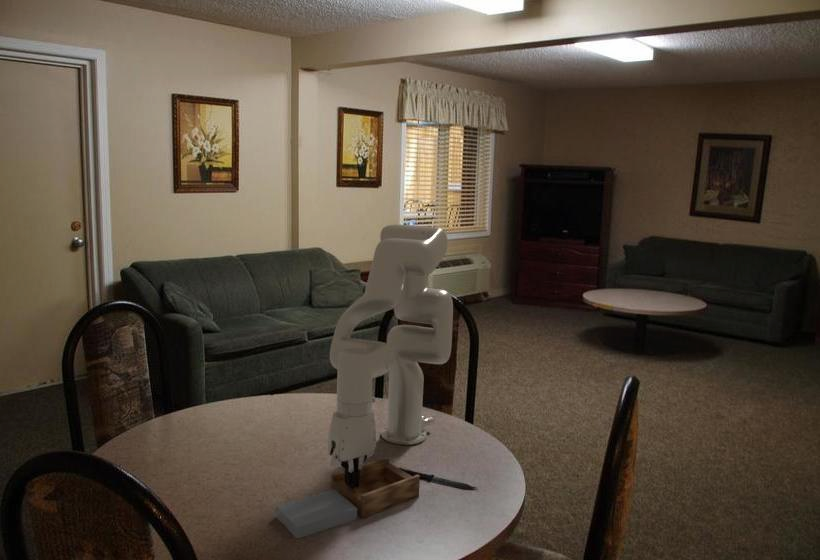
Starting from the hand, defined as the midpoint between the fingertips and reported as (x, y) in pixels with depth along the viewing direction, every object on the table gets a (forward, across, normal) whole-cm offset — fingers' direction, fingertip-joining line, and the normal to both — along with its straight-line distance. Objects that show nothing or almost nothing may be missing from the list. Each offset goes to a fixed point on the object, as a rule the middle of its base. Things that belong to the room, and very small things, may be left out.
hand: (351, 485), depth 142 cm
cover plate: (+5, +9, 0) cm, 10 cm away
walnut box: (+5, -6, 0) cm, 8 cm away
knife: (+6, -23, +3) cm, 24 cm away
